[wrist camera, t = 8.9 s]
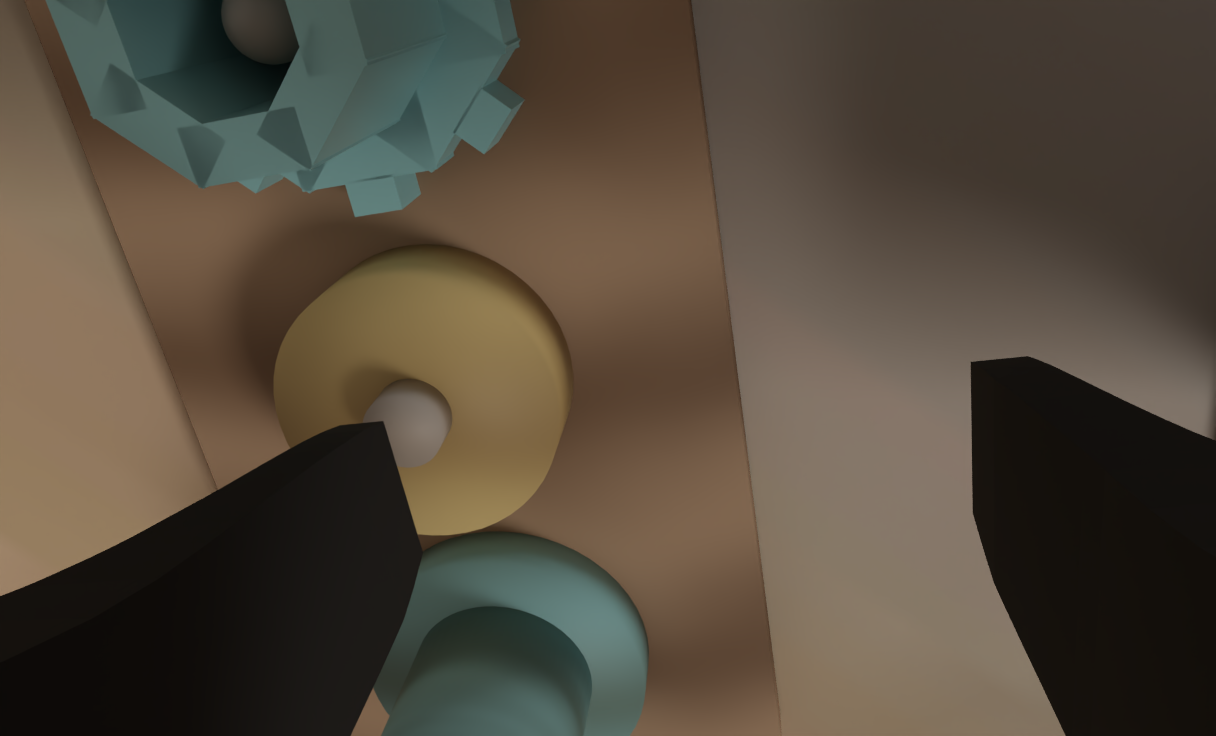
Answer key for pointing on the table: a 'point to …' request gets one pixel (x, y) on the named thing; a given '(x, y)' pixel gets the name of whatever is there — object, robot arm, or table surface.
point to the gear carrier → (497, 378)
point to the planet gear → (299, 90)
